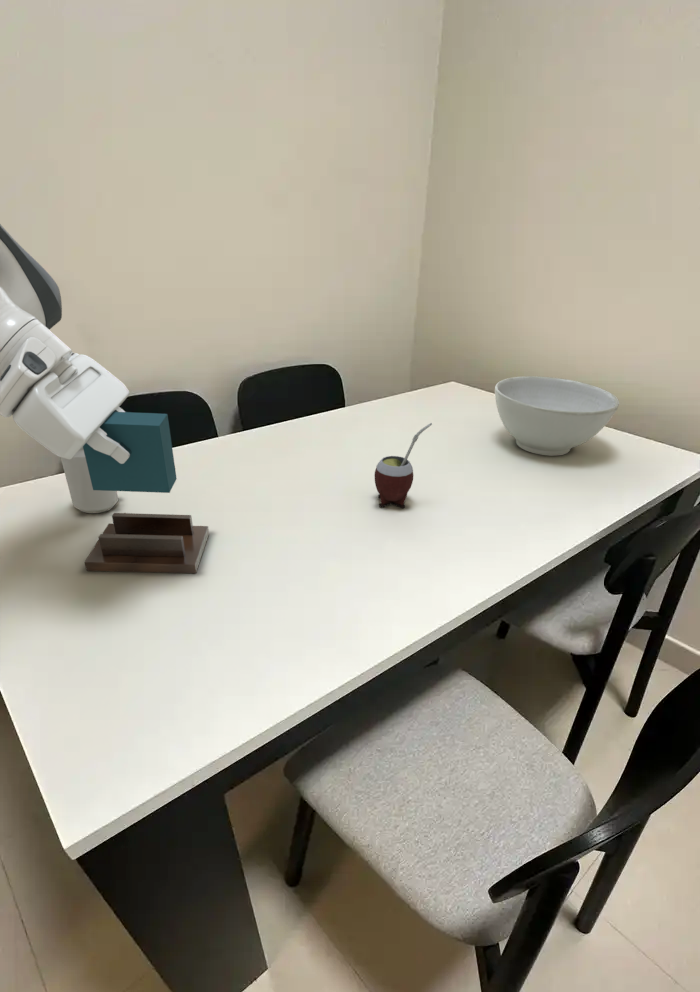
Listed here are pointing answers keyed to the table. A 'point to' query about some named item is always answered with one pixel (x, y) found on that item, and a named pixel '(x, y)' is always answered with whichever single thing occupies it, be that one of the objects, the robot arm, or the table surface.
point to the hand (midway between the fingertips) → (134, 450)
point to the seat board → (149, 544)
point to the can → (85, 486)
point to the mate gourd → (395, 477)
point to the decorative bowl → (552, 412)
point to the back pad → (135, 455)
